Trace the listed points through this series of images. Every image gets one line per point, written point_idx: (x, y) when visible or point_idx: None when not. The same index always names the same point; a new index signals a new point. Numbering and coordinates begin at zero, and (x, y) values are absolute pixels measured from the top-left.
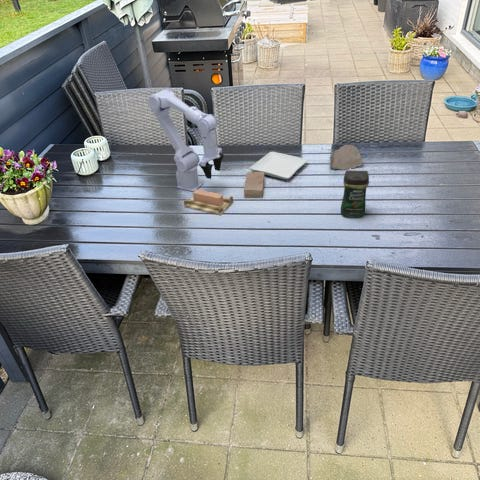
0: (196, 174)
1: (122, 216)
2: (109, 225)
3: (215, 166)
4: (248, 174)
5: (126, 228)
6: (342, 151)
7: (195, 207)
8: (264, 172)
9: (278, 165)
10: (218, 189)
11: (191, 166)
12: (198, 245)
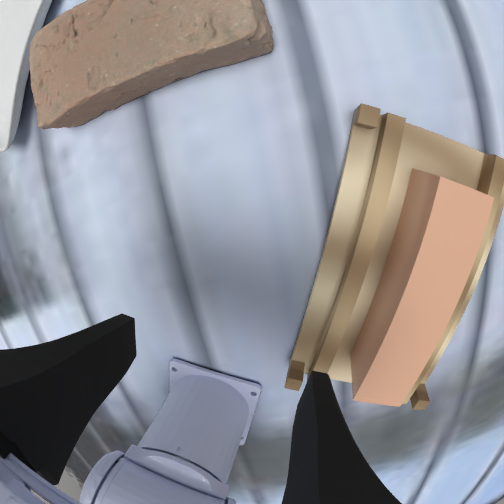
0: (184, 431)
1: (435, 493)
2: (469, 491)
3: (112, 376)
4: (52, 105)
5: (499, 462)
6: None
7: (450, 336)
8: (25, 58)
9: None
10: (202, 263)
11: (182, 494)
12: None
